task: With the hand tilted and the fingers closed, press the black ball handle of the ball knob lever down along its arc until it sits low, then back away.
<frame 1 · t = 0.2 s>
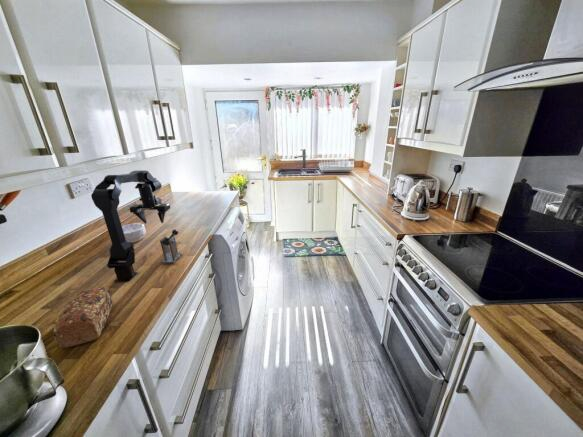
hand: (154, 223, 127), 15 cm above the counter, tool pointing down, fingers open, 9 cm apart
bread: (91, 324, 81), on the counter
paper bowls: (133, 240, 143), on the counter
ball knob lever: (171, 236, 120), point 11 cm above the counter, hinge at 10.0°
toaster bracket: (172, 259, 120), on the counter
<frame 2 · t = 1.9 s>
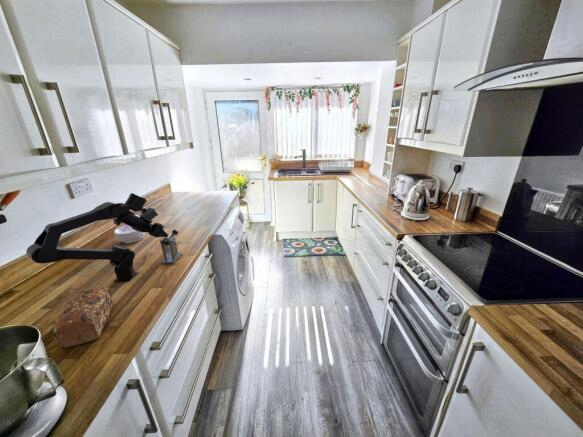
hand: (162, 234, 118), 13 cm above the counter, tool tilted 45°, fingers open, 9 cm apart
nothing on the counter moved.
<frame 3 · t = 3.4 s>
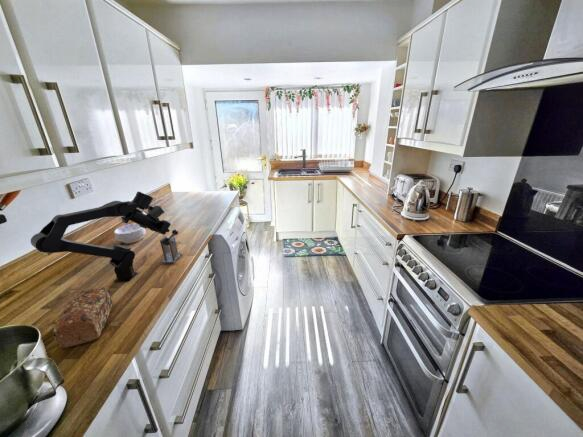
hand: (168, 231, 120), 13 cm above the counter, tool tilted 45°, fingers closed
nothing on the counter moved.
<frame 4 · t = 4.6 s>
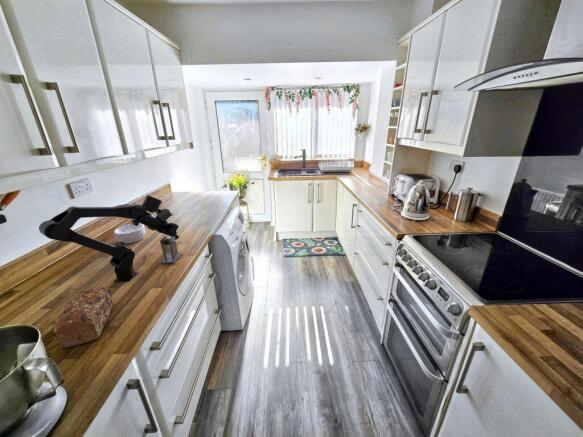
hand: (176, 233, 124), 11 cm above the counter, tool tilted 45°, fingers closed
ball knob lever: (172, 239, 120), point 9 cm above the counter, hinge at -8.1°, touching gripper
everything else where it was.
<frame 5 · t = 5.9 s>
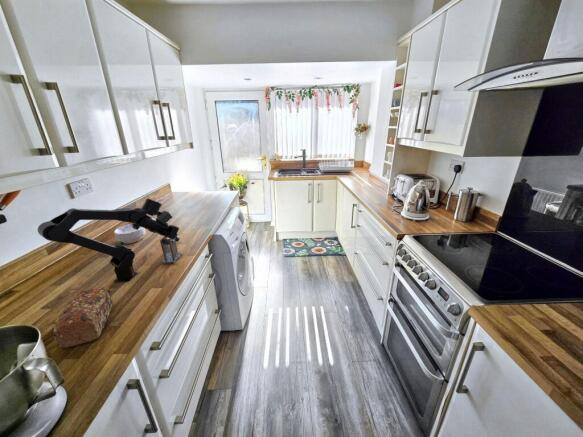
hand: (176, 234, 124), 10 cm above the counter, tool tilted 45°, fingers closed
ball knob lever: (172, 240, 121), point 9 cm above the counter, hinge at -16.8°
everything else where it was.
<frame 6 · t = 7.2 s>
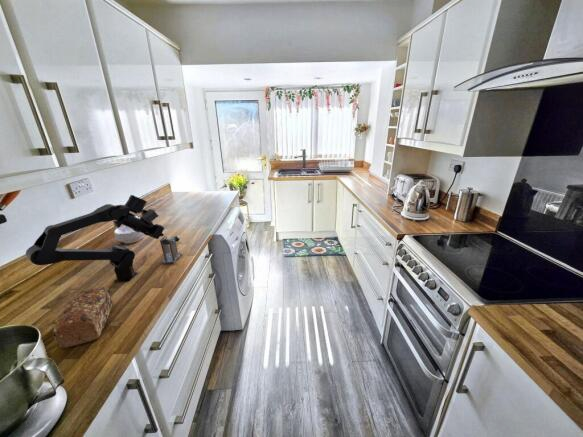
hand: (162, 235, 118), 12 cm above the counter, tool tilted 45°, fingers closed
nothing on the counter moved.
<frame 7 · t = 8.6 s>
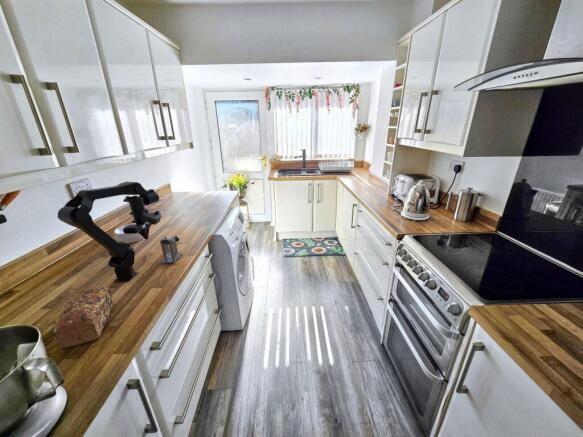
hand: (146, 239, 115), 12 cm above the counter, tool pointing down, fingers closed
nothing on the counter moved.
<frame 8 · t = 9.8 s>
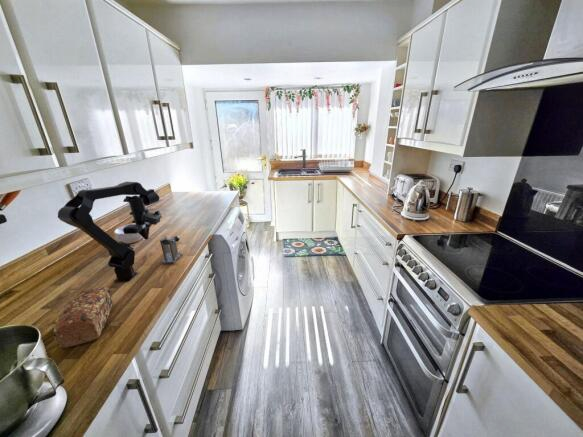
hand: (146, 239, 115), 12 cm above the counter, tool pointing down, fingers closed
nothing on the counter moved.
at the end: ball knob lever at -17° (first picture: +10°) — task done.
